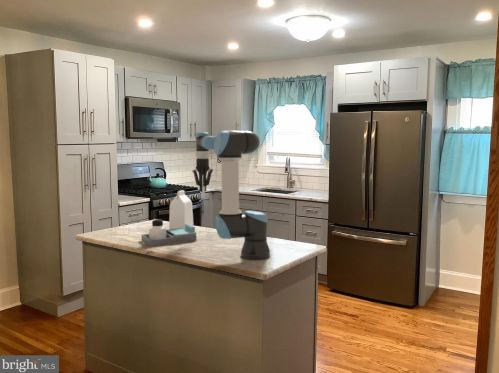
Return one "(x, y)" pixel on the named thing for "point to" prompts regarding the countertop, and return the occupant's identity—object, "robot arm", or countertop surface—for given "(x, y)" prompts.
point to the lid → (183, 230)
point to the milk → (180, 211)
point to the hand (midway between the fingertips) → (202, 196)
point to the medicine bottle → (157, 230)
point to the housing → (169, 238)
